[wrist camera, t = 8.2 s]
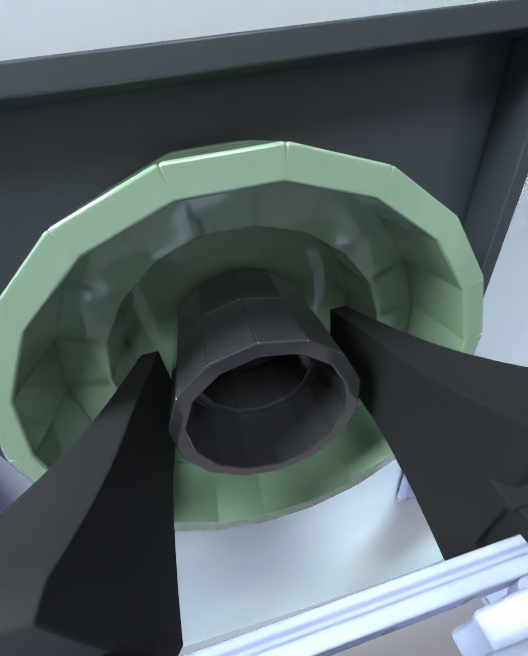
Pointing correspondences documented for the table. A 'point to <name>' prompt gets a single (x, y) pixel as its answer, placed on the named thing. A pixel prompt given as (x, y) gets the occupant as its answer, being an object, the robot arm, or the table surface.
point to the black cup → (255, 377)
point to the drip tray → (279, 112)
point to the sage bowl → (208, 263)
